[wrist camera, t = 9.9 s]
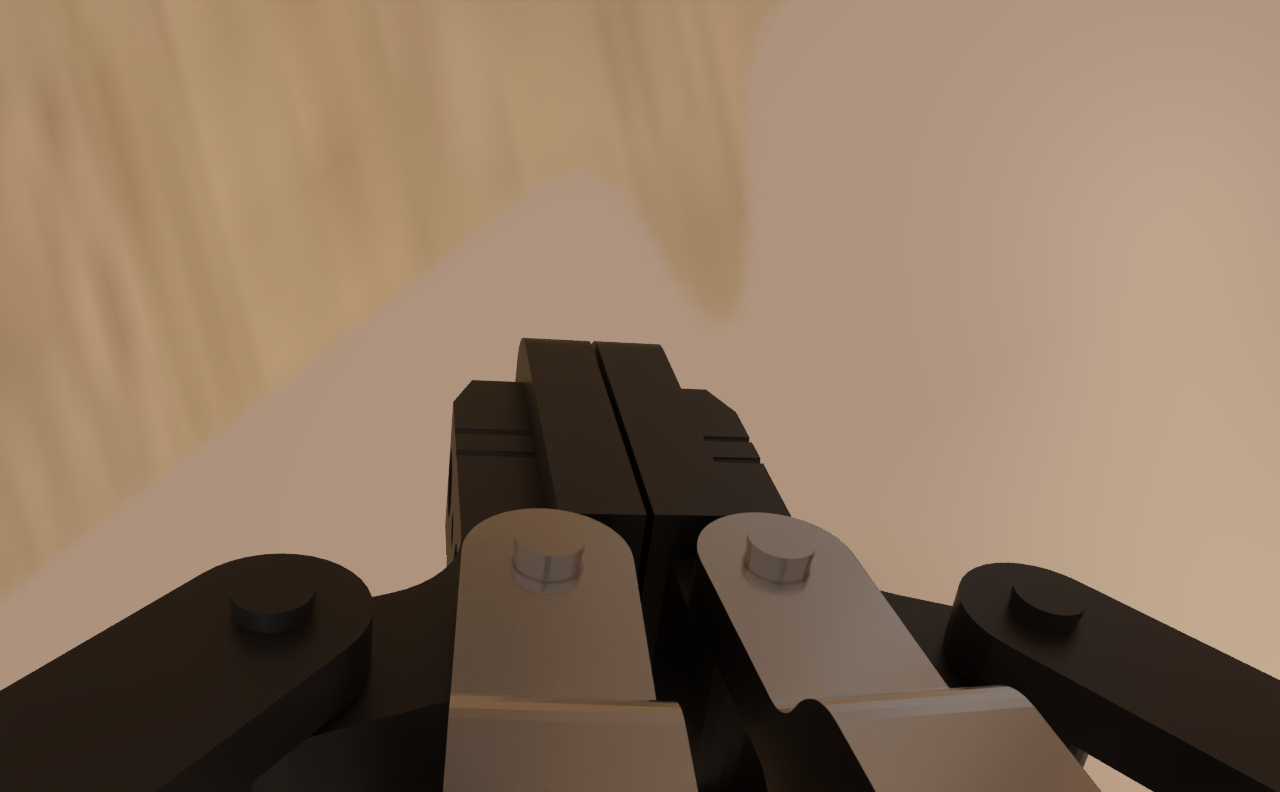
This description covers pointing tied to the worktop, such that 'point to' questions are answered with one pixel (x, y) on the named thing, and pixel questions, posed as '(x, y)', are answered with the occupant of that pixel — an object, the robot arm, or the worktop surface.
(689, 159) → the worktop surface
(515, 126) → the worktop surface
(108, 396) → the worktop surface
